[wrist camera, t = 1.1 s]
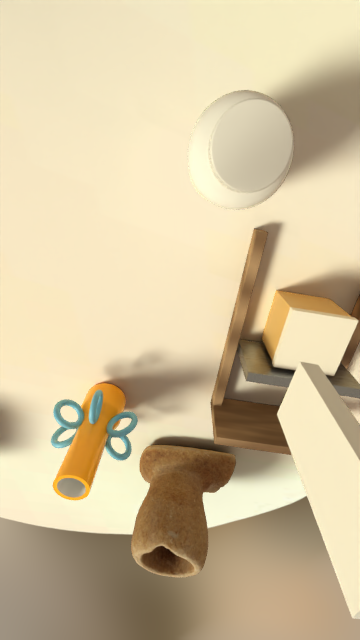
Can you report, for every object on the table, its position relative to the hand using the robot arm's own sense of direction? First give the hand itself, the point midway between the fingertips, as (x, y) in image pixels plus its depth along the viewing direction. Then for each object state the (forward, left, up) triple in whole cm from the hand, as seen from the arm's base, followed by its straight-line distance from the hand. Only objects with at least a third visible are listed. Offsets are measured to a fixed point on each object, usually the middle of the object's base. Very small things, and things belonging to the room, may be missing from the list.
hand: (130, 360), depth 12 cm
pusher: (+12, +18, -26) cm, 34 cm away
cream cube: (+7, +18, -27) cm, 33 cm away
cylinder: (+25, -6, -27) cm, 37 cm away
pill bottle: (-9, +5, -27) cm, 29 cm away
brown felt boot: (+37, +8, -27) cm, 46 cm away
